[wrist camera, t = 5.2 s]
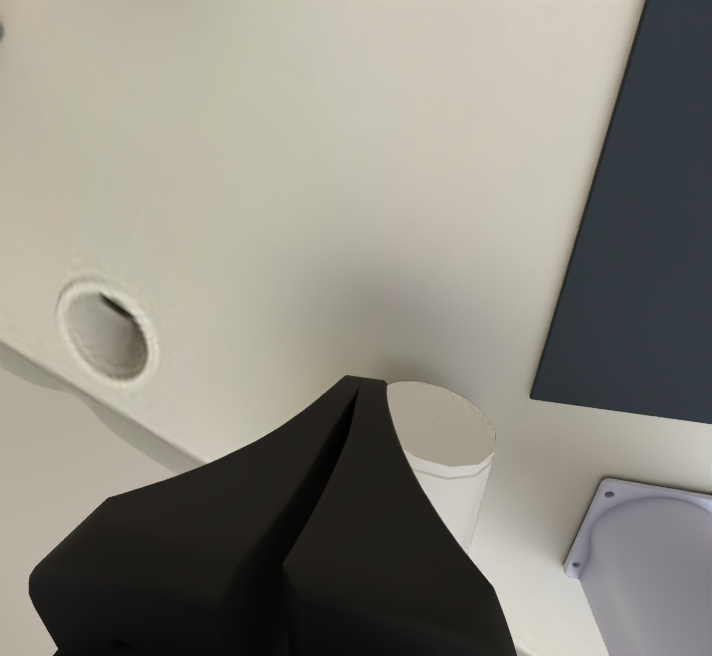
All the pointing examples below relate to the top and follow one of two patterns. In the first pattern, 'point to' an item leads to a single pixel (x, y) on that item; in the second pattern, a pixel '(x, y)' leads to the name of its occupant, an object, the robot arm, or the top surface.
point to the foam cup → (445, 450)
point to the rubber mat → (645, 238)
